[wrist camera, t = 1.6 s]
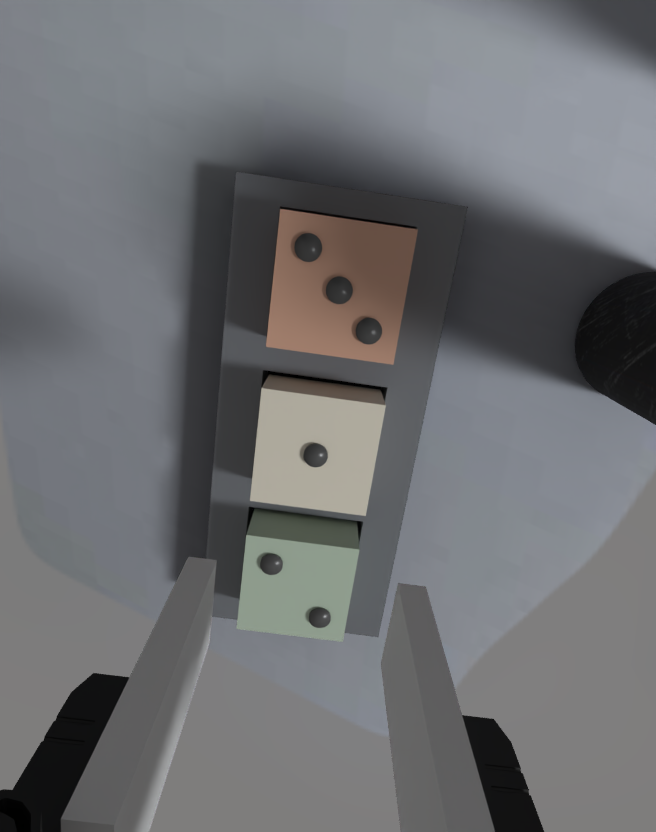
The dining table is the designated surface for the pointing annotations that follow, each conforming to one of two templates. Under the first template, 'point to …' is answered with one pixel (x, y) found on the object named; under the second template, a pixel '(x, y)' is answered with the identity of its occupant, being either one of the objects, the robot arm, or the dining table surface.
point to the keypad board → (324, 376)
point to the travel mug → (622, 344)
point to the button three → (339, 286)
